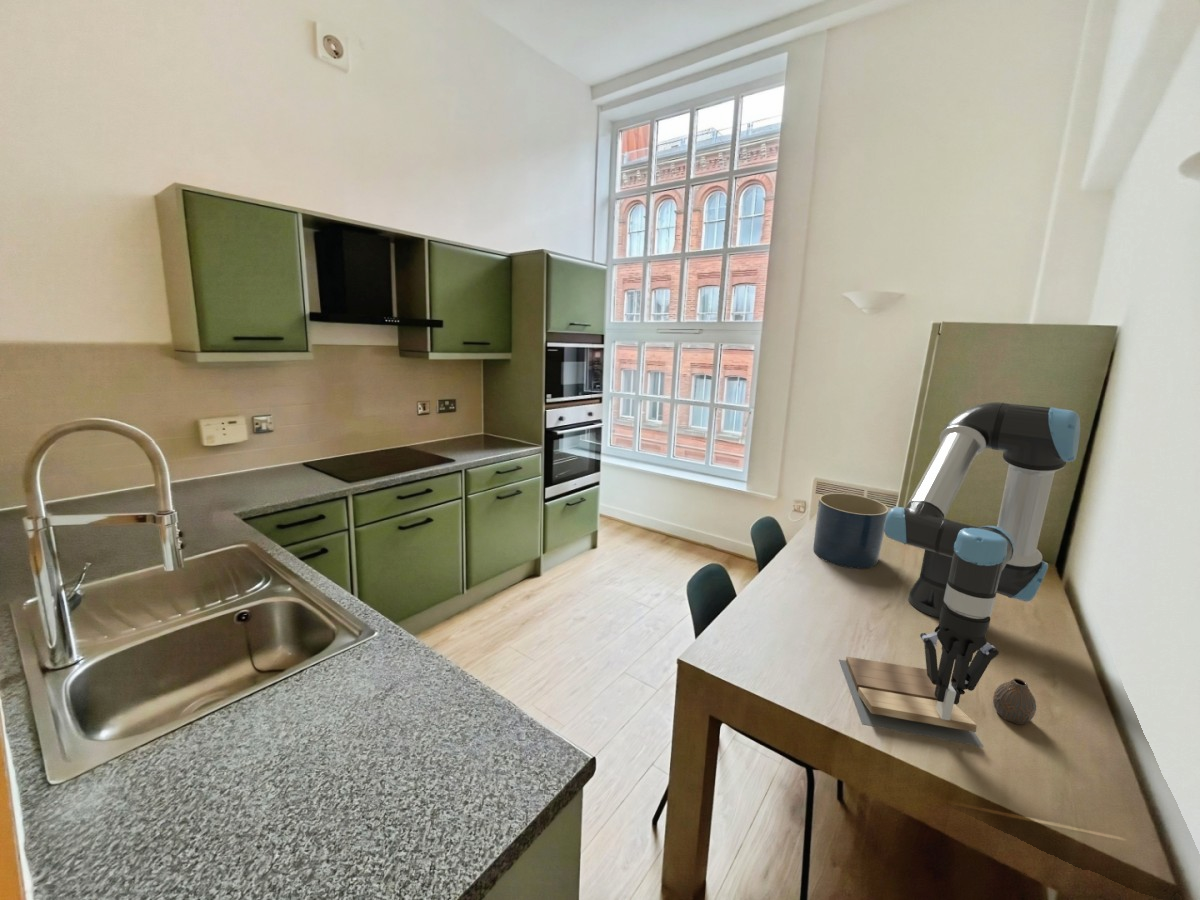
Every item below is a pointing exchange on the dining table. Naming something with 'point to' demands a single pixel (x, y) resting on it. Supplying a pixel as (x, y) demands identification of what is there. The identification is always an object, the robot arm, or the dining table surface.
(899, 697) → the plank
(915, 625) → the dining table surface
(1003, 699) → the vase
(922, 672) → the laid board
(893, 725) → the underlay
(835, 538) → the planter
